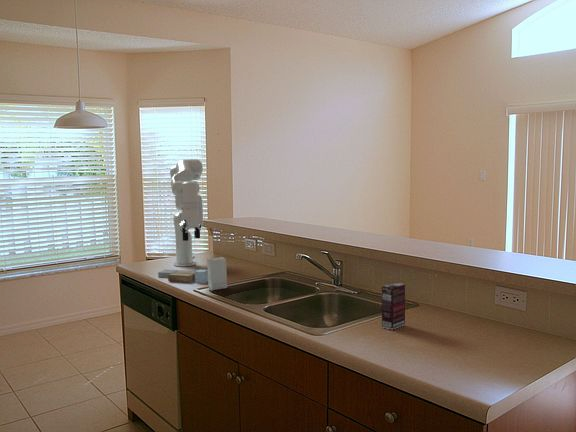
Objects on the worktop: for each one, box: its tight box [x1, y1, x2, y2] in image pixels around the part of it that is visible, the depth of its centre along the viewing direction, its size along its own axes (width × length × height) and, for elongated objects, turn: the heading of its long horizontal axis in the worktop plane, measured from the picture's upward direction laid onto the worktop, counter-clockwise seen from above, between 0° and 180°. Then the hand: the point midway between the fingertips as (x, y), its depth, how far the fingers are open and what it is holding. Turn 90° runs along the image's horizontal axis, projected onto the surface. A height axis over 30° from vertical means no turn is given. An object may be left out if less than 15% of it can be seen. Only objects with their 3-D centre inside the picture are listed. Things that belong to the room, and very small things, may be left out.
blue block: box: [194, 269, 208, 284], centre depth 271 cm, size 5×5×6 cm
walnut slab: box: [167, 269, 196, 284], centre depth 277 cm, size 12×12×4 cm
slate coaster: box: [157, 269, 179, 278], centre depth 287 cm, size 8×8×3 cm
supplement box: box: [381, 282, 406, 331], centre depth 194 cm, size 9×5×16 cm, turn 133°
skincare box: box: [206, 256, 228, 291], centre depth 257 cm, size 8×6×15 cm
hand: (191, 239), depth 270 cm, fingers open, 9 cm apart
